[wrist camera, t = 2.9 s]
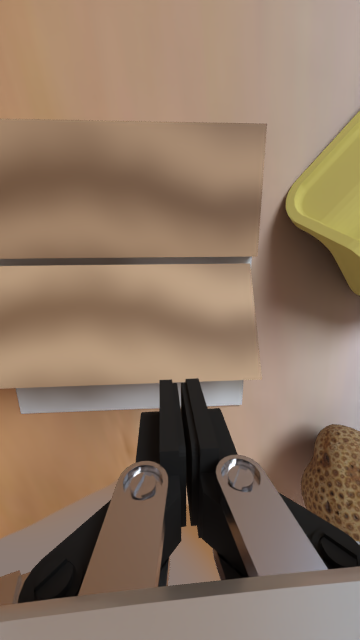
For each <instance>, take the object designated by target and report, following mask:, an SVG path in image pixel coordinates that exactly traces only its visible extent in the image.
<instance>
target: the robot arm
mask: <svg viewBox="0 0 360 640" xmlns="http://www.w3.org/2000/svg"><path fill="white" fill-rule="evenodd" d="M159 391H160V411H159V412H142V413H141V419H140V428H139V437H138V446H137V455H136V463H134V464H132V465H130V466H129V467H127V468H126V469H125V470H124V471H123V472H122V473H121V475H120V477H119V479H118V482H117V484H116V487H115V491H114V493H113V496H112V499H111V500H110V501H109V502H108V503H107V504H106V505H105V506H103V507H102V508H101V509H100V510H99V511H97V512H96V513H95V514H94V515H93V516H92V517H90V518H89V519H88V520H87V521H86V522H85V523H83V524H82V525H81V526H80V527H79V528H78V529H77V530H76V531H74V532H73V533H72V534H71V535H70V536H69V537H67V538H66V539H65V540H64V541H63V542H62V543H60V544H59V545H58V546H57V547H56V548H55V549H53V550H52V551H51V552H50V553H49V554H48V555H46V556H45V557H44V558H43V559H42V560H41V561H40V562H39V563H38V564H37V565H36V566H35V567H34V568H33V569H32V571H31V572H29V573H26V574H23V575H21V574H20V571H16V572H14V573H10V574H7V575H5V576H2V577H0V640H360V542H358V541H355V540H354V539H353V538H352V537H350V536H349V535H348V534H346V533H345V532H343V531H342V530H340V529H339V528H337V527H335V526H334V525H332V524H330V523H329V522H327V521H325V520H324V519H322V518H320V517H319V516H317V515H315V514H314V513H312V512H310V511H309V510H307V509H305V508H304V507H302V506H300V505H299V504H297V503H295V502H294V501H292V500H290V499H288V498H287V497H285V496H283V495H282V494H280V493H278V491H277V490H276V488H275V487H274V485H273V484H272V482H271V481H270V479H269V478H268V476H267V475H266V473H265V471H264V470H263V469H262V467H261V466H260V465H259V464H258V463H257V462H255V461H254V460H253V459H251V458H248V457H246V456H242V455H238V454H237V452H236V449H235V447H234V444H233V441H232V439H231V436H230V433H229V431H228V428H227V425H226V423H225V420H224V417H223V415H222V412H221V410H220V409H219V408H214V409H207V405H206V402H205V399H204V395H203V392H202V389H201V385H200V382H199V379H198V378H193V379H186V380H185V382H181V408H180V401H179V393H178V385H177V383H172V379H171V380H159ZM186 486H187V495H188V504H189V513H190V521H191V526H196V525H197V529H198V536H199V538H202V539H203V540H204V541H205V542H206V543H208V544H209V545H210V546H211V547H212V548H213V554H214V560H215V563H216V566H217V570H218V573H219V576H220V579H221V580H220V581H211V582H201V583H192V584H184V585H173V586H168V580H169V570H170V555H171V554H172V552H173V551H174V550H175V548H176V547H177V546H178V544H179V543H180V542H181V527H184V526H186Z"/></svg>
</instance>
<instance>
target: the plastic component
mask: <svg viewBox="0 0 360 640" xmlns="http://www.w3.org/2000/svg"><path fill="white" fill-rule="evenodd" d="M286 211H287V213H288V216H289V217H290V219H291V220H292V222H293V223H294V225H295V226H297V227H298V228H300V229H301V230H303V231H305V232H307V233H309V234H311V235H312V236H314V237H315V238H317V239H318V240H319V241H321V242H322V243H323V244H324V245H325V246H326V247H327V248H328V249H329V250H330V252H331V253H332V255H333V256H334V258H335V260H336V262H337V264H338V266H339V268H340V270H341V271H342V273H343V275H344V277H345V279H346V281H347V283H348V285H349V287H350V288H351V290H352V291H353V292H354V293H355V294H357V295H359V296H360V111H359V112H358V113H357V114H356V115H355V116H354V118H353V119H352V120H351V121H350V122H349V123H348V124H347V125H346V126H345V127H344V129H343V130H342V131H341V132H340V133H339V134H338V135H337V136H336V137H335V138H334V140H333V141H332V142H331V143H330V144H329V145H328V146H327V147H326V148H325V149H324V151H323V152H322V153H321V154H320V155H319V156H318V157H317V158H316V159H315V161H314V162H313V163H312V164H311V165H310V166H309V167H308V168H307V169H306V170H305V172H304V173H303V174H302V175H301V176H300V177H299V178H298V179H297V180H296V181H295V183H294V184H293V185H292V187H291V189H290V191H289V192H288V195H287V198H286Z"/></svg>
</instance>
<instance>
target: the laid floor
mask: <svg viewBox="0 0 360 640" xmlns="http://www.w3.org/2000/svg"><path fill="white" fill-rule="evenodd" d="M266 129H267V124H254V123H200V122H147V121H94V120H41V119H0V266H52V265H146V264H240V263H250V267H251V259H252V256H257V253H258V240H259V226H260V212H261V198H262V184H263V170H264V156H265V142H266ZM175 383H177V385H178V393H179V401H180V407H181V382H175ZM200 385H201V389H202V392H203V395H204V399H205V402H206V405H207V406H224V405H242V395H243V380H232V381H204V382H200ZM16 392H17V397H18V402H19V406H20V411H21V414H26V413H51V412H76V411H101V410H125V409H150V408H160V391H159V383H147V384H119V385H90V386H62V387H33V388H16Z"/></svg>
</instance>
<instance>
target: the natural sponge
mask: <svg viewBox="0 0 360 640" xmlns="http://www.w3.org/2000/svg"><path fill="white" fill-rule="evenodd" d="M301 490H302V496H303V499H304V503H305V506H306V508H307V510H309V511H310V512H312V513H314V514H315V515H317V516H319V517H320V518H322V519H324V520H325V521H327V522H329V523H330V524H332V525H334V526H335V527H337V528H339V529H340V530H342V531H343V532H345V533H346V534H348V535H349V536H350V537H352V538H353V539H354V540H355V541H358V542H360V431H357V430H355V429H353V428H350V427H346V426H343V425H335V424H332V425H329V426H326V427H325V428H324V429H322V430H321V431H320V433H319V434H318V436H317V439H316V441H315V446H314V454H313V458H312V460H311V461H310V463H309V464H308V466H307V468H306V469H305V471H304V474H303V477H302V481H301Z"/></svg>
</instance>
